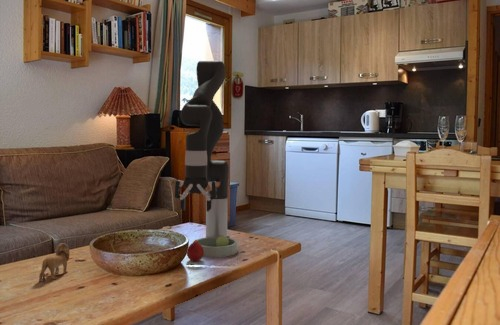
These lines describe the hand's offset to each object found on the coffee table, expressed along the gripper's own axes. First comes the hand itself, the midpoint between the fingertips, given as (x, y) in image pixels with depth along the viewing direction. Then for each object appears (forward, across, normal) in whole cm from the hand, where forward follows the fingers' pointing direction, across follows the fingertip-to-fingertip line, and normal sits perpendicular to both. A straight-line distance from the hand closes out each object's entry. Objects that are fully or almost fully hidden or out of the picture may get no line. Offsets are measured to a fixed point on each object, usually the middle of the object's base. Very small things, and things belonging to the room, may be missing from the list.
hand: (195, 210), depth 149 cm
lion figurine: (+18, +40, +19) cm, 48 cm away
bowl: (+18, -5, -13) cm, 23 cm away
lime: (+17, -7, -16) cm, 25 cm away
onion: (+18, 0, 0) cm, 18 cm away
